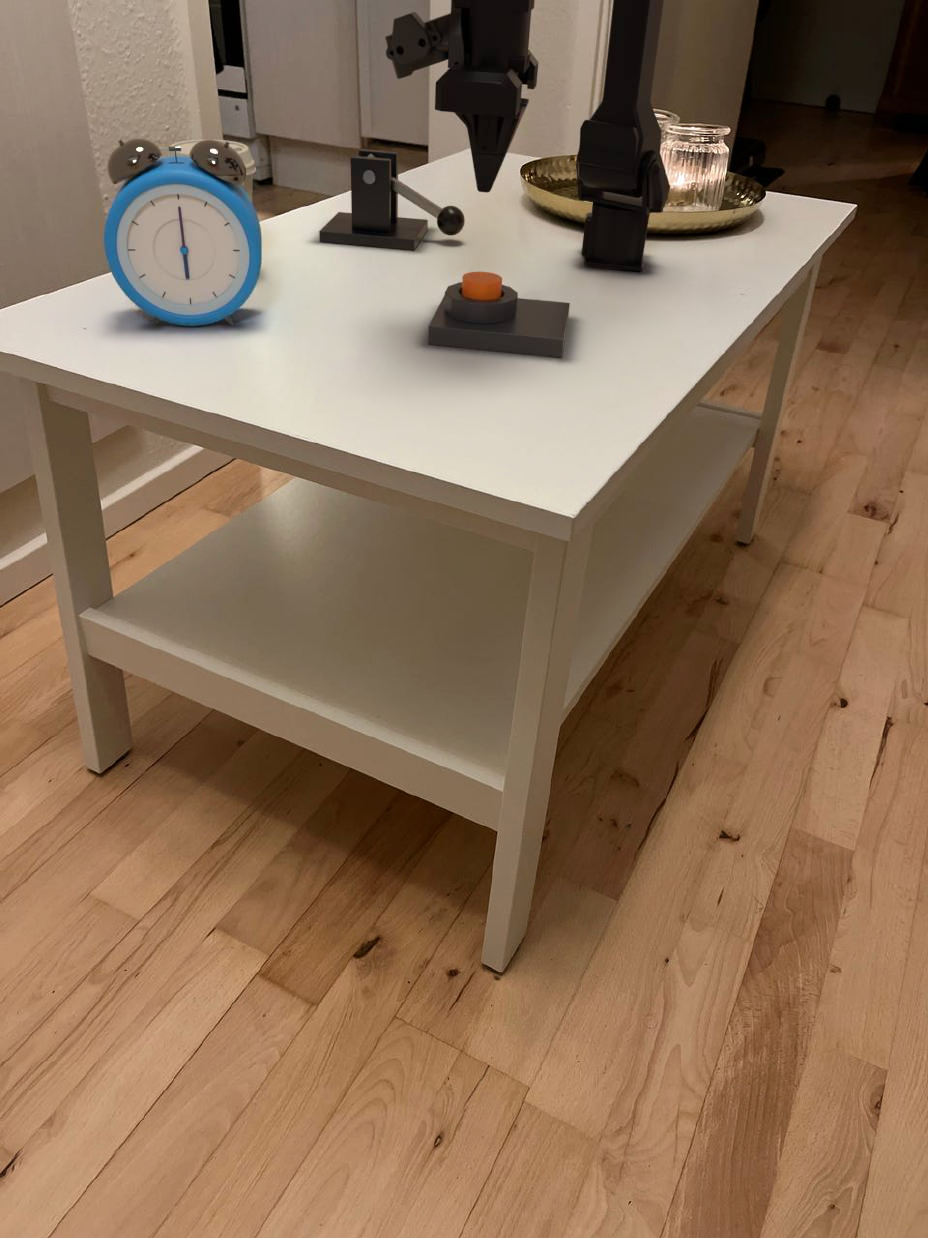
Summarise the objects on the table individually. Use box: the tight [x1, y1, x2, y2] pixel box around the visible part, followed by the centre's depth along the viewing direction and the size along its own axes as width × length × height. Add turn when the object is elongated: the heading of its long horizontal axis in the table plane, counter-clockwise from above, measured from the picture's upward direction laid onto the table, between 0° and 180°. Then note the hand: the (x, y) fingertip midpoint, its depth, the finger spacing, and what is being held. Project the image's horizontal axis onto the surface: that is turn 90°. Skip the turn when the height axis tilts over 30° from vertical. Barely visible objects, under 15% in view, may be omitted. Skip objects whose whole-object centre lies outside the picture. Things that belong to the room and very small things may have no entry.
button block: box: [427, 281, 571, 358], centre depth 91 cm, size 12×10×4 cm
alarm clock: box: [103, 137, 263, 327], centre depth 86 cm, size 13×6×15 cm, turn 100°
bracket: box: [318, 148, 429, 251], centre depth 113 cm, size 11×9×9 cm
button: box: [461, 271, 503, 300], centre depth 89 cm, size 4×4×2 cm
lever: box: [367, 154, 466, 237], centre depth 113 cm, size 13×3×3 cm, turn 82°
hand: (484, 191), depth 85 cm, fingers closed
